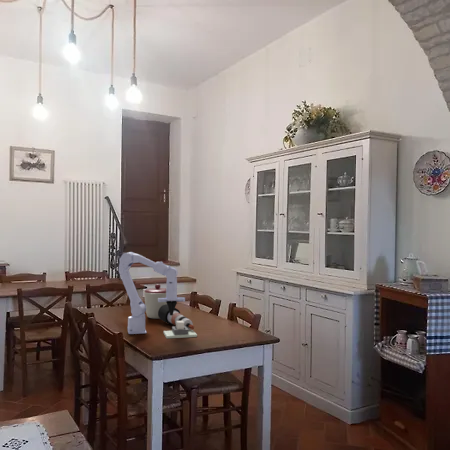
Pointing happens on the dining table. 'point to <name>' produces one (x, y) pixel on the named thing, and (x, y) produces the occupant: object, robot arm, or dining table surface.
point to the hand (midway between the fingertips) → (171, 315)
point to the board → (180, 333)
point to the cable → (173, 317)
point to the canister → (154, 300)
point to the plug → (179, 325)
